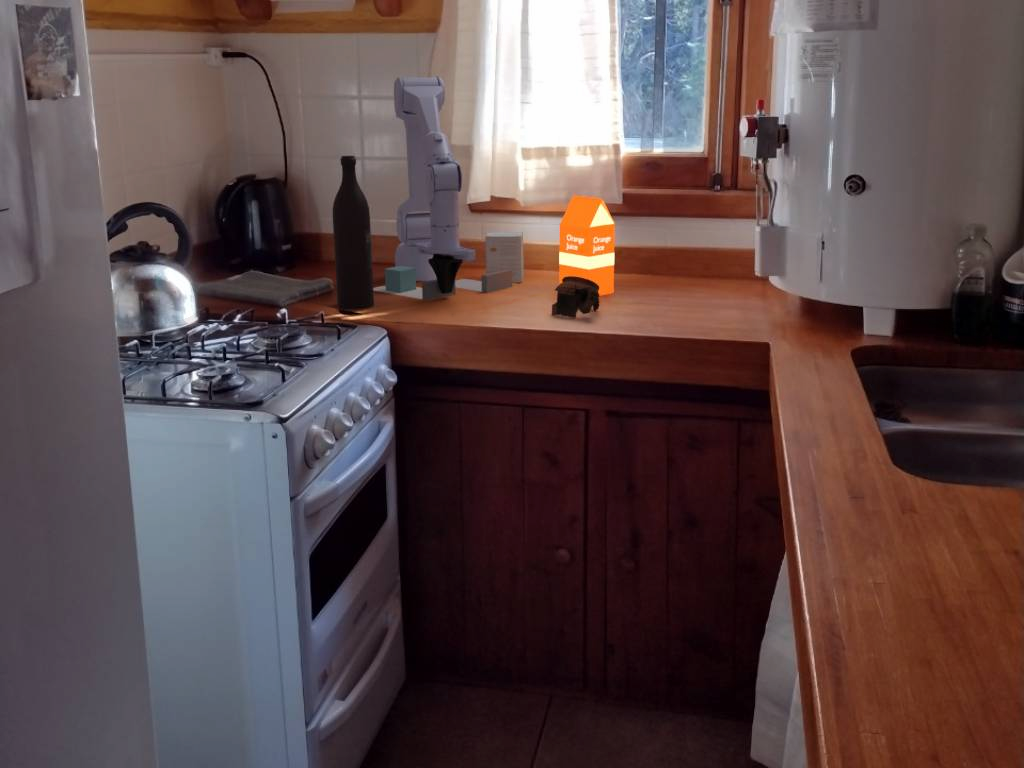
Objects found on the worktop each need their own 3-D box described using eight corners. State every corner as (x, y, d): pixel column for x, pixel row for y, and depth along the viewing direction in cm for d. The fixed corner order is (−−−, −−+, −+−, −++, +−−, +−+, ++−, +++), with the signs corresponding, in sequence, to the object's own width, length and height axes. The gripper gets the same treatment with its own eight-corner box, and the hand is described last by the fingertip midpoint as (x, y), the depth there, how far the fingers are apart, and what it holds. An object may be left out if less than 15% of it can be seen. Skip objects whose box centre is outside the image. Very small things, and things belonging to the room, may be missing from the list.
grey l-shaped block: (438, 288, 228) (438, 268, 226) (464, 283, 233) (464, 262, 232) (487, 297, 219) (486, 275, 217) (512, 291, 225) (512, 270, 223)
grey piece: (367, 293, 223) (366, 272, 222) (395, 287, 229) (394, 267, 228) (427, 305, 212) (427, 283, 211) (455, 298, 218) (455, 277, 216)
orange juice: (588, 298, 219) (589, 200, 213) (558, 291, 225) (558, 196, 219) (614, 292, 224) (616, 197, 218) (584, 286, 230) (585, 193, 224)
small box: (524, 278, 240) (523, 231, 237) (521, 283, 234) (521, 235, 231) (488, 278, 240) (488, 231, 237) (485, 283, 235) (485, 235, 232)
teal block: (385, 290, 222) (384, 268, 221) (401, 286, 225) (400, 265, 224) (400, 292, 219) (399, 271, 218) (416, 289, 222) (415, 268, 221)
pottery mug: (539, 315, 206) (549, 275, 208) (577, 331, 211) (587, 292, 212) (573, 310, 196) (584, 269, 197) (613, 327, 201) (623, 287, 202)
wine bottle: (375, 314, 206) (367, 157, 197) (338, 316, 205) (329, 158, 196) (373, 307, 212) (366, 154, 204) (337, 308, 211) (329, 155, 203)
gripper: (404, 224, 211) (407, 291, 215) (457, 230, 202) (458, 300, 206) (429, 220, 216) (431, 285, 220) (482, 226, 207) (483, 294, 211)
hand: (446, 292), depth 213 cm, fingers closed
